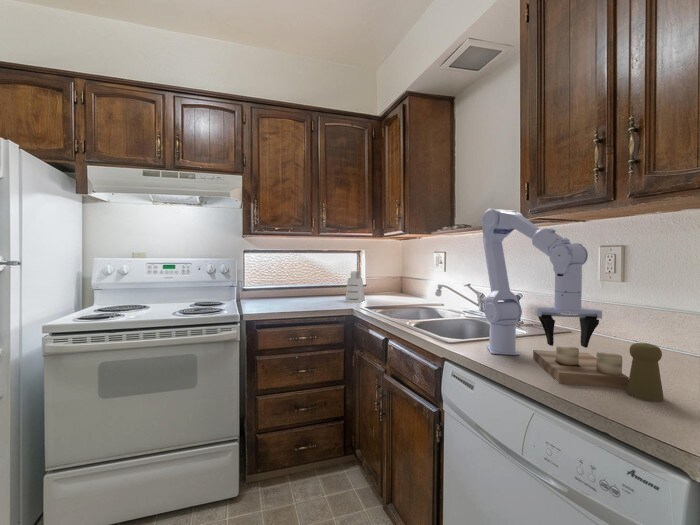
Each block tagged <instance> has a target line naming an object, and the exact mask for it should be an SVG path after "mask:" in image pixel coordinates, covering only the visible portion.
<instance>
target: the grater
mask: <svg viewBox="0 0 700 525" xmlns="http://www.w3.org/2000/svg"><path fill="white" fill-rule="evenodd" d="M363 282H364V280H363V278H362V277H360V271H357V270H356V271H355V270H354V271H350V277H348V278H347V283H346V290H345V298H344V299H345V300H344V304H353V303H361V302H363V301H365V302H366V299H365V291H364V290H365V289H364V283H363ZM361 304H362V303H361Z"/></svg>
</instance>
